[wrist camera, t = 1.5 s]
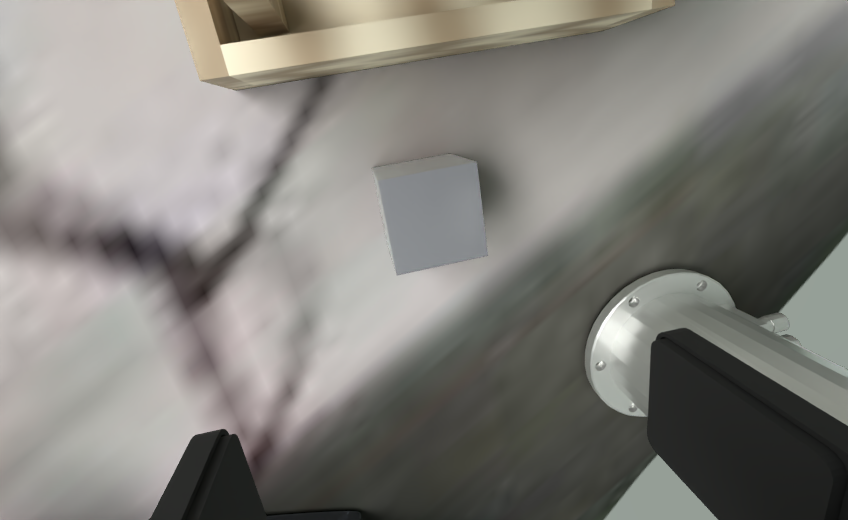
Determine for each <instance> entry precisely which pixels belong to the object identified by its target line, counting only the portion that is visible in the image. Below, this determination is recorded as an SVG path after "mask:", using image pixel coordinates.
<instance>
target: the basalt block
mask: <svg viewBox="0 0 848 520" xmlns="http://www.w3.org/2000/svg"><path fill="white" fill-rule="evenodd" d="M372 173H373V178H374V183H375V188H376V193H377V198H378V203H379V208H380V213H381V218H382V222H383V227H384V232H385V237H386V242H387V246H388V249H389V252H390V256H391V259H392V262H393V265H394V268H395V271H396V274H397V275H401V274H406V273H410V272H415V271H420V270H424V269H429V268H433V267H438V266H443V265H447V264H452V263H457V262H461V261H466V260H470V259H475V258H480V257H484V256H488V250H487V242H486V234H485V225H484V217H483V208H482V200H481V192H480V183H479V175H478V166H477V162H476V161H473V160H470V159H466V158H463V157H460V156H457V155H454V154H451V153H448V154H443V155H438V156H432V157H427V158H422V159H416V160H411V161H406V162H400V163H395V164H390V165H384V166H379V167H374V168H372Z"/></svg>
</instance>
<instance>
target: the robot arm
mask: <svg viewBox="0 0 848 520" xmlns="http://www.w3.org/2000/svg"><path fill="white" fill-rule="evenodd" d="M789 326H790V324H789V320H788V318H787V317H786V316H785V315H783V314H782V313H774V314H770V315H766V316H762V317H760V318H758V319H757V318H755V317H753V316H751V315H749V314H747V313H745V312H743V311H740V310H738V309H736V308H735V304H734V301H733V300H732V298H731V296H730V294H729V292H728V291H727V290H726V289H725V288H724V287H723V286H722V285H721V284H720V283H719V282H717V281H715V280H714V279H712V278H710V277H708V276H706V275H703V274H701V273H698V272H696V271H691V270H686V269H667V270H663V271H658V272H654V273H651V274H649V275H647V276H644V277H642V278H639V279H638V280H636V281H634V282H633V283H631V284H630V285H628V286H626V287H625V288H624V289H622V290H621V291H620V292H619V293H618V294H617V295H616V296H614V297H613V298H612V299H611V300H610V302H609V303H608V304H607V305H606V306H605V308H604V309H603V310H602V311H601V313H600V314H599V316H598V318H597V319H596V321H595V323H594V324H593V327H592V329H591V332H590V334H589V337H588V340H587V345H586V349H585V369H586V374H587V378H588V380H589V382H590V384H591V386H592V388H593V390H594V391H595V392H596V393H597V394H598V396H599V397H600V398H601V399H602V400H603V401H604V402H605V403H606V404H607V405H608V406H609V407H611V408H613V409H614V410H616V411H618V412H620V413H623V414H626V415H630V416H641V417H646V416H647V417H648V426H647V436H648V440H649V442H650V444H651V446H652V448H653V449H654V450H655V452H656V453H657V454H658V455H659V456H660V457H661V458H662V459H663V460H664V461H665V462H666V464H667V465H668V466H669V467H670V468H671V469H672V470H673V471H674V472H675V473H676V474H677V475H678V477H679V478H680V479H681V480H682V481H683V482H684V483H685V484H686V485H687V486H688V487H689V488H690V490H691V491H692V492H693V493H694V494H695V495H696V496H697V497H698V498H699V499H700V500H701V501H702V502H703V503H704V505H705V506H706V507H707V508H708V509H709V510H710V511H711V512H712V513H713V514H714V516H715V517H716V518H717V519H718V520H848V369H846V368H844V367H842V366H840V365H838V364H836V363H834V362H832V361H830V360H828V359H826V358H824V357H821V356H820V355H818V354H816V353H814V352H812V351H810V350H808V349H806V348H803V347H802V345H801V344H800V342H799V341H798V340H797V339H796V338H794V337H793V336H790V335H782V336H779V335H777V334H775V333H777V332H781V331H785V330H787V329H788V328H789ZM149 520H268V519H267V516H266V514H265V511H264V508H263V505H262V502H261V500H260V497H259V494H258V491H257V488H256V486H255V483H254V480H253V477H252V475H251V472H250V469H249V466H248V463H247V461H246V458H245V455H244V452H243V449H242V447H241V444H240V441H239V438H238V436H237V435H236V434H232V435H229V433H228V432H227V431H226V430H225V429H221V430H216V431H212V432H207V433H203V434H198V435H195V436H193V438H192V439H191V440H190V442H189V444H188V446H187V448H186V450H185V452H184V454H183V456H182V458H181V460H180V462H179V464H178V466H177V468H176V470H175V472H174V474H173V476H172V478H171V480H170V482H169V483H168V485H167V487H166V489H165V491H164V493H163V495H162V497H161V499H160V501H159V503H158V505H157V507H156V509H155V511H154V513H153V515H152V517H151V518H150V519H149Z"/></svg>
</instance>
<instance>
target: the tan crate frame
mask: <svg viewBox="0 0 848 520" xmlns="http://www.w3.org/2000/svg"><path fill="white" fill-rule="evenodd" d="M175 3H176V7H177V10H178V13H179V16H180V19H181V22H182V25H183V29H184V32H185V35H186V38H187V41H188V44H189V47H190V51H191V54H192V57H193V60H194V63H195V66H196V69H197V73H198V76H199V79H200V81H203V82H207V83H210V84H214V85H218V86H221V87H225V88H229V89H232V90H241V89H248V88H254V87H260V86H266V85H272V84H278V83H285V82H291V81H297V80H303V79H309V78H315V77H322V76H328V75H334V74H340V73H346V72H352V71H359V70H365V69H371V68H377V67H383V66H389V65H396V64H402V63H408V62H414V61H420V60H426V59H433V58H439V57H445V56H451V55H457V54H463V53H470V52H476V51H482V50H488V49H494V48H500V47H507V46H513V45H519V44H525V43H531V42H537V41H544V40H550V39H556V38H562V37H568V36H574V35H581V34H587V33H593V32H599V31H604V30H607V29H610V28H613V27H615V26H618V25H621V24H624V23H627V22H630V21H632V20H635V19H638V18H641V17H644V16H646V15H649V14H652V13H655V12H658V11H661V10H663V9H666V8H669V7H672V6H675V0H175Z"/></svg>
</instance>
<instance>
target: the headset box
mask: <svg viewBox="0 0 848 520" xmlns="http://www.w3.org/2000/svg"><path fill="white" fill-rule="evenodd" d="M267 519H268V520H361V513H360V512H357V511H334V512H315V513H301V514H286V515H274V516H267Z"/></svg>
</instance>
